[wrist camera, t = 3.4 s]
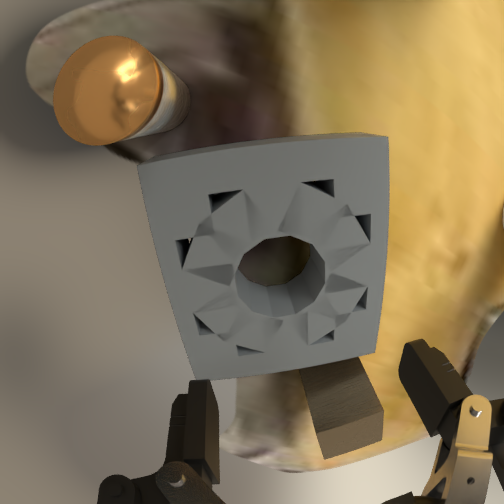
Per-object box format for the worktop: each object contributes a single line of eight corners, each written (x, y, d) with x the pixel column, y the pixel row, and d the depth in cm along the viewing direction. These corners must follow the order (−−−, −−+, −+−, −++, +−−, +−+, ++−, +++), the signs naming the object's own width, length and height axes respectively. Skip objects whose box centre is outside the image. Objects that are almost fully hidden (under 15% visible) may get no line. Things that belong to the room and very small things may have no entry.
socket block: (153, 156, 19) (136, 165, 15) (360, 132, 19) (388, 136, 15) (199, 347, 25) (196, 381, 22) (358, 323, 26) (374, 352, 22)
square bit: (294, 351, 26) (315, 433, 18) (347, 334, 26) (383, 410, 18) (304, 384, 29) (324, 459, 20) (351, 369, 28) (381, 439, 20)
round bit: (127, 81, 17) (49, 57, 7) (186, 68, 17) (150, 22, 8) (135, 138, 18) (61, 157, 9) (194, 126, 18) (164, 130, 9)
